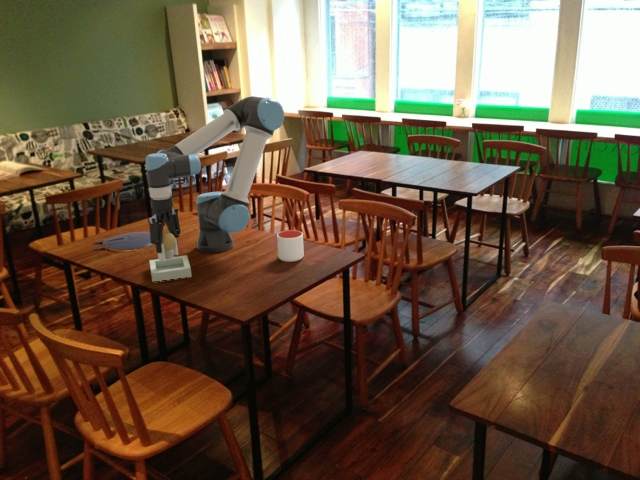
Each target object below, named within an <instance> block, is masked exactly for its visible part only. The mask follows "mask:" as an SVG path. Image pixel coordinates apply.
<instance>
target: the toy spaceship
mask: <svg viewBox="0 0 640 480" xmlns="http://www.w3.org/2000/svg"><path fill="white" fill-rule="evenodd" d="M100 240H104V241H102V244H101V245H96V246H92V247H91V249H92V248H98V247H108V248H111V249H118V250H134V249H140V248H144V247H148V246H151V245H153V244H151V240H150V231H149V232H148V231H136V232H135V231H133V232H127V233H123V234H119V235H115V236H111V237H108V238H104V239H97V240H95V242H101V241H100Z"/></svg>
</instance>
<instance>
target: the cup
mask: <svg viewBox="0 0 640 480" xmlns="http://www.w3.org/2000/svg"><path fill="white" fill-rule="evenodd" d="M303 236H304V233H303V232H302V231H300V230H297V229H290V230H288V229H287V230H282V231H280V232H278V233H277V234H276V240H277V241H276V242H277V256H278V259H279V260H281V261H282V262H285V263H287V262H288V263H292V262H298V261H300V260H302V259H303V257H304V255H305V254H304V252H305V251H304V249H305V248H304V237H303Z"/></svg>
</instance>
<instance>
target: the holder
mask: <svg viewBox="0 0 640 480" xmlns="http://www.w3.org/2000/svg"><path fill="white" fill-rule="evenodd" d="M149 266H150V276H151V281H152V282H153V281H160V282H163V281H162V280H167V281H171V280H170V279H174V280H179V279H178V278H181V279H185V278H186V277H187V278H192V276H193V275H192V268H191V265H190V261H189V258H188V255H180V256H178V255H177V256H173V258H171V259H166V261H160V260H159V259H158V258H156V259H149ZM187 278H186V279H187Z"/></svg>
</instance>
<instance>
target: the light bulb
mask: <svg viewBox="0 0 640 480" xmlns="http://www.w3.org/2000/svg"><path fill="white" fill-rule="evenodd" d="M162 244H164V251H165V259H171V258H173V257H175V256H174V254H173V250H172V248H173V246H174V245H175V237H174V235H173V234H171V233H169V231H168V232H166V231H165V232H163V236H162Z"/></svg>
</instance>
